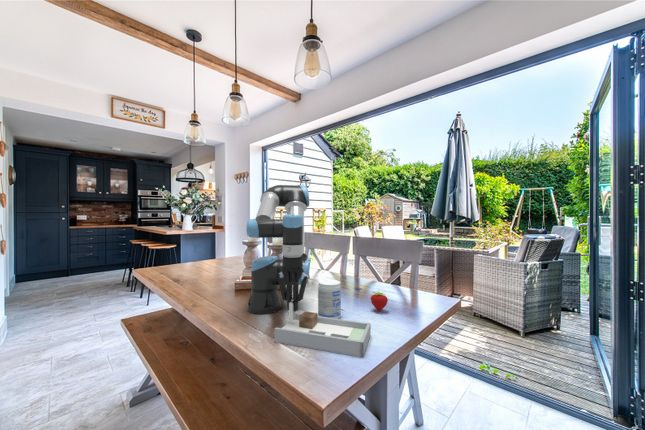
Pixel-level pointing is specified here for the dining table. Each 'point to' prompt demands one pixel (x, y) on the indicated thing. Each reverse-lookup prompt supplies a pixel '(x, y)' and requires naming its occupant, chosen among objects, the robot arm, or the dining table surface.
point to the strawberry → (379, 301)
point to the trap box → (327, 335)
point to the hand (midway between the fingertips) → (292, 319)
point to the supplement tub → (329, 299)
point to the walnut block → (308, 320)
